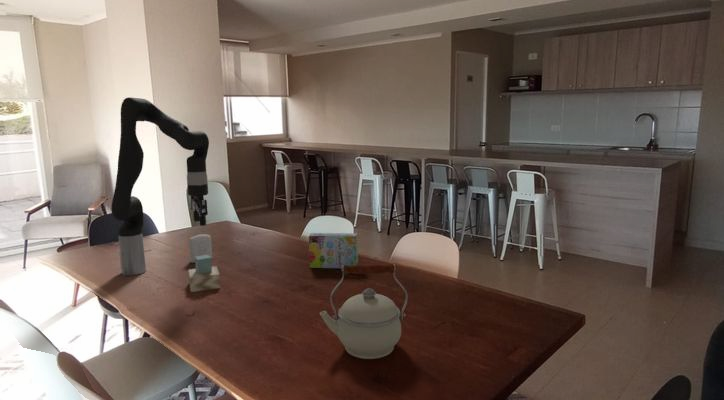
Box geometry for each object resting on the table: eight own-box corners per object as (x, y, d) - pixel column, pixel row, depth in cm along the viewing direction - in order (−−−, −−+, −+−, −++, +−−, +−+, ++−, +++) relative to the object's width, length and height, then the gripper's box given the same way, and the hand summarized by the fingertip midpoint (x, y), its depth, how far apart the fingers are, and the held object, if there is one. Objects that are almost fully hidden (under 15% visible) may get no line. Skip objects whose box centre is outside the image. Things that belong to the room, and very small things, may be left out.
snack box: (358, 265, 207) (357, 232, 204) (356, 269, 202) (356, 235, 199) (312, 264, 209) (311, 232, 207) (309, 268, 204) (308, 235, 201)
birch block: (190, 292, 177) (189, 278, 176) (189, 283, 187) (188, 269, 186) (220, 288, 181) (219, 274, 180) (217, 279, 191) (216, 266, 190)
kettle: (403, 331, 142) (403, 254, 138) (411, 362, 124) (412, 274, 119) (322, 333, 141) (320, 255, 137) (318, 365, 123) (316, 276, 119)
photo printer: (209, 257, 222) (208, 232, 220) (214, 258, 219) (212, 233, 217) (189, 261, 215) (187, 236, 213) (193, 263, 212) (191, 237, 210)
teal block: (199, 274, 180) (197, 259, 179) (195, 271, 184) (194, 256, 183) (211, 272, 182) (210, 257, 181) (208, 268, 186) (207, 254, 185)
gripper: (182, 181, 183) (185, 221, 186) (192, 185, 172) (195, 228, 174) (202, 180, 187) (204, 219, 190) (212, 184, 176) (214, 225, 179)
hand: (199, 223), depth 182 cm, fingers open, 8 cm apart
